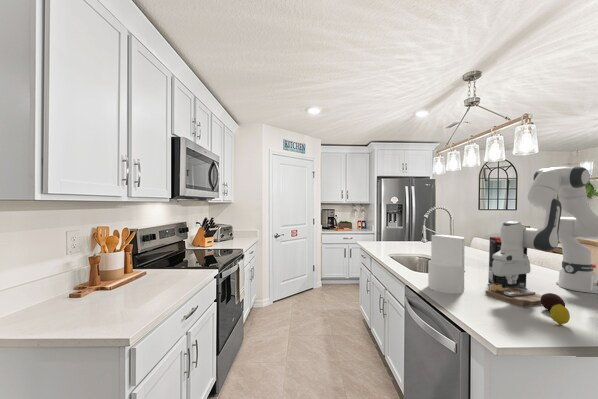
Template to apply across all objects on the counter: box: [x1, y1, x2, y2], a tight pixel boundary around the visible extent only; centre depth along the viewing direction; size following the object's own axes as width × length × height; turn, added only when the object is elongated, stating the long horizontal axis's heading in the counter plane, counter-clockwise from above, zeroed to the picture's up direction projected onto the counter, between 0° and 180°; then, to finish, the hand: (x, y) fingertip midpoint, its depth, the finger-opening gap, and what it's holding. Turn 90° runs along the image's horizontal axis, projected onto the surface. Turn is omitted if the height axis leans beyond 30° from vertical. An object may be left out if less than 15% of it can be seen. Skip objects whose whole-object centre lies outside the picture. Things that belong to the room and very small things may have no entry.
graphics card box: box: [487, 236, 528, 288], centre depth 160 cm, size 17×7×27 cm, turn 84°
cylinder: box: [427, 234, 465, 295], centre depth 154 cm, size 17×17×28 cm
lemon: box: [549, 304, 571, 326], centre depth 109 cm, size 6×6×8 cm
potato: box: [540, 292, 566, 312], centre depth 123 cm, size 8×9×8 cm
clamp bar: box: [504, 289, 536, 296], centre depth 139 cm, size 16×3×1 cm, turn 106°
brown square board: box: [485, 287, 543, 308], centre depth 139 cm, size 20×18×2 cm
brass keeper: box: [489, 283, 509, 292], centre depth 143 cm, size 4×6×3 cm, turn 17°
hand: (511, 283), depth 138 cm, fingers closed
